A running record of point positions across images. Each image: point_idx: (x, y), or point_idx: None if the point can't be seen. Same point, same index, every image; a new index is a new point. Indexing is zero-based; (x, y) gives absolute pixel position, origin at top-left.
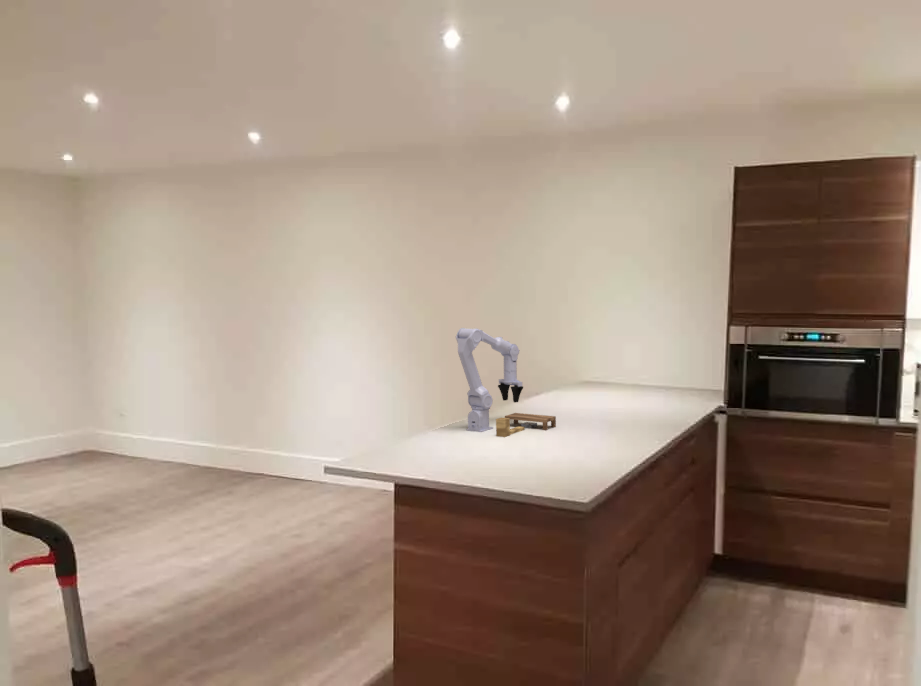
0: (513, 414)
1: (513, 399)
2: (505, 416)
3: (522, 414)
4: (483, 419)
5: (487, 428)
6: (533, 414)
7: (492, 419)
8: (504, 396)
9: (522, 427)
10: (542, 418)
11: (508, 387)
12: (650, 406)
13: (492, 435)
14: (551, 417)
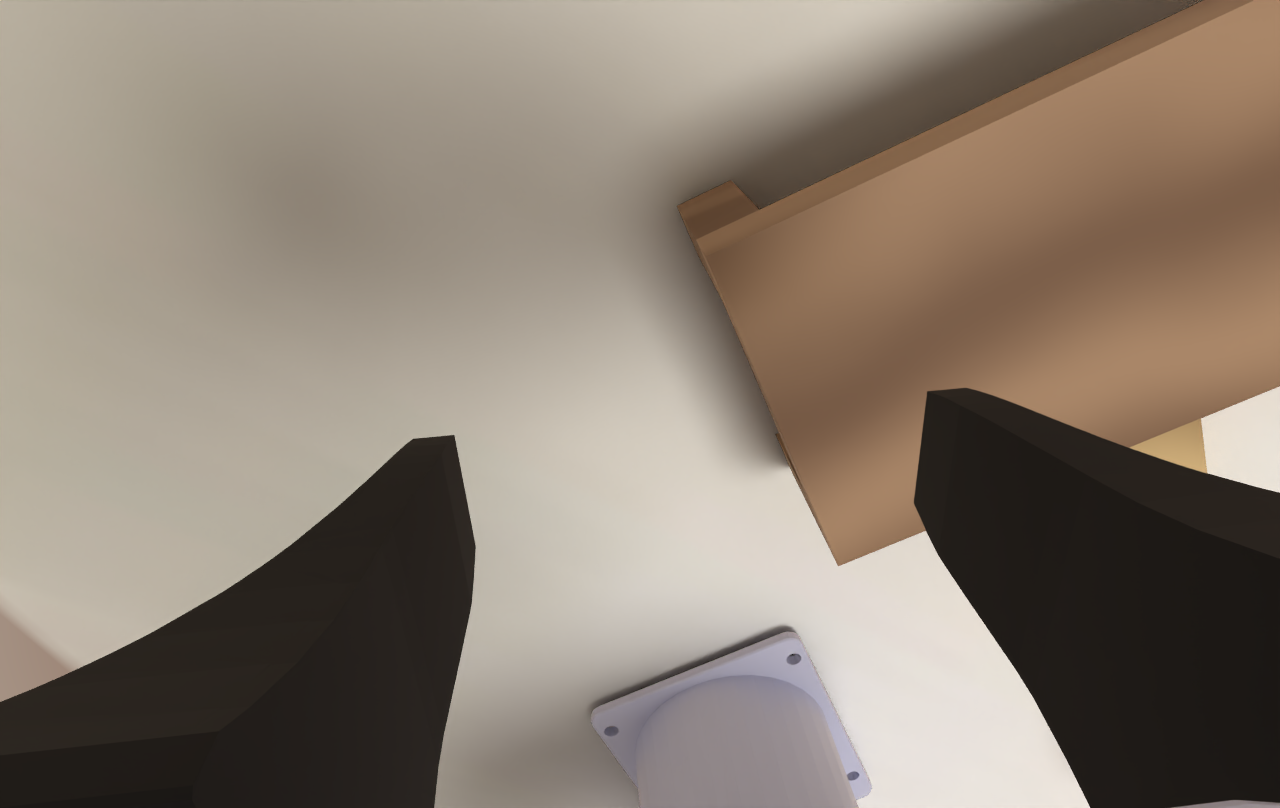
0: (834, 388)
1: (963, 567)
2: (848, 556)
3: (964, 250)
4: None
5: (826, 720)
6: (1155, 55)
7: (107, 315)
8: (451, 606)
9: (1195, 453)
10: None
11: (315, 705)
12: None
13: (1060, 761)
14: None
